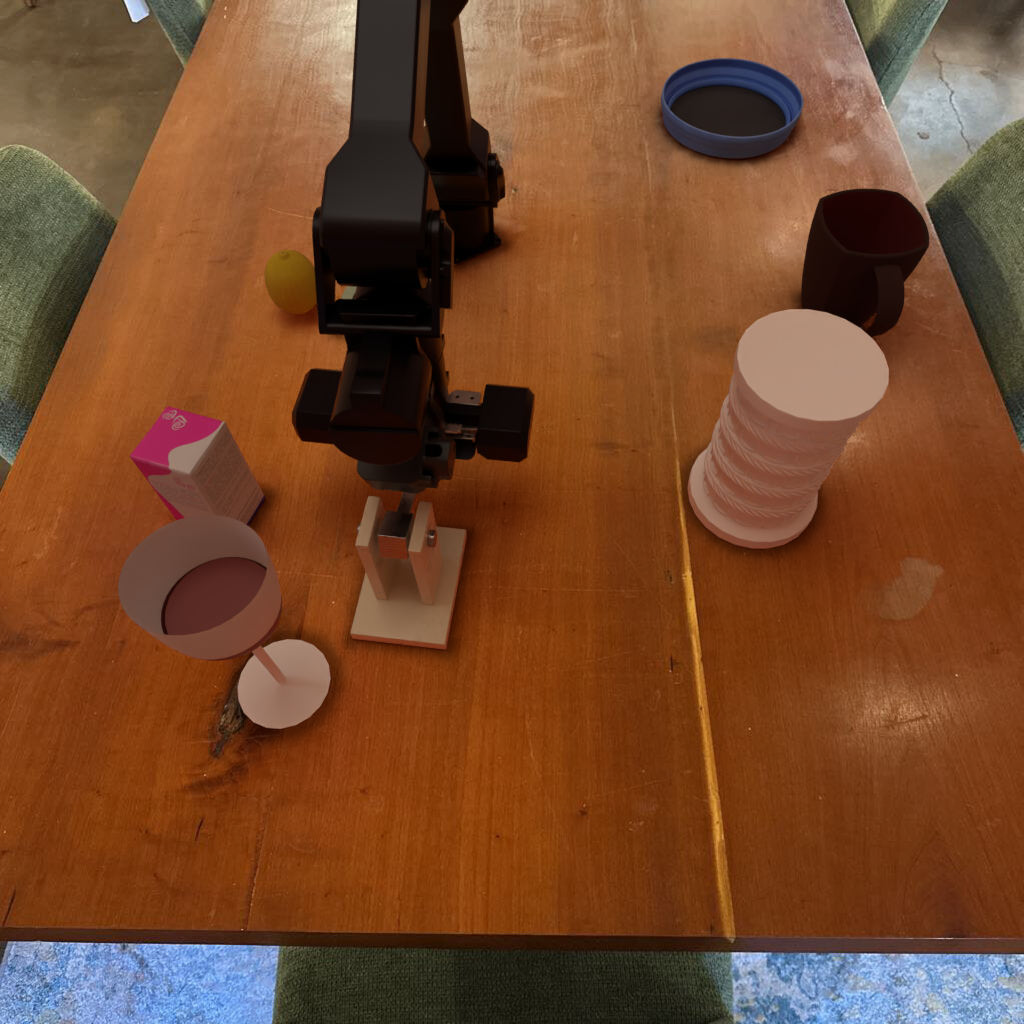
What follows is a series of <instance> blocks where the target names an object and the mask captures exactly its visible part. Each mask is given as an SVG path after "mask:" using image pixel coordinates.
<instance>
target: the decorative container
mask: <svg viewBox="0 0 1024 1024" xmlns="http://www.w3.org/2000/svg"><path fill="white" fill-rule="evenodd" d="M732 370H733V374H732V376H731V379H730V382H729V385H728V386H729V387H728V393H727V395H726V396H725V398H724V400H723V401H722V405H721V408H720V413H719V418H718V419H717V422H716V423H715V425H714V427H713V431H712V435H711V440H710V442H709V444H708V445H707V447H706V448H705V449H704V450H703V451H702V452H701V453H699V455H698V456H697V458H696V459H695V461H694V463H693V465H692V467H691V469H690V473H689V475H688V476H689V477H688V482H687V488H686V489H687V495H688V501H689V504H690V506H691V509H692V510H693V512H694V515H695V516H696V518H697V519H698V520H699V521H700V523H701V524H702V525H703V526H704V528H706V529H707V530H709V532H711V533H712V534H713V535H715V536H716V537H718V538H719V539H721V540H723V541H726V542H728V543H730V544H732V545H734V546H739V547H744V548H748V549H772V548H775V547H780V546H784V545H786V544H788V543H790V542H792V541H793V540H795V539H796V538H798V537H799V536H800V535H801V534H802V533H803V532H804V531H805V530H806V528H807V527H808V526H809V525H810V523H811V521H812V520H813V517H814V515H815V513H816V510H817V508H818V499H819V490H820V489H821V485H823V483H824V481H826V480H827V479H828V476H830V474H831V470H832V469H833V467H834V463H836V462H837V460H838V459H839V458H841V455H842V453H844V451H845V447H846V446H847V445H848V440H849V439H850V438H851V437H852V436H853V434H855V433H856V431H857V428H859V427H860V423H862V422H863V421H865V420H866V419H867V418H868V417H869V416H870V415H871V414H872V413H873V412H874V411H875V410H876V409H877V407H878V406H879V404H880V403H881V401H882V399H883V398H884V396H885V394H886V391H887V389H888V387H889V383H890V379H889V378H890V368H889V366H888V361H887V359H886V356H885V353H884V352H883V351H882V349H881V348H880V346H879V345H878V343H877V342H876V341H875V340H874V339H873V337H870V336H869V335H868V334H867V333H865V332H864V331H863V330H862V329H861V328H859V327H858V326H856V325H854V324H852V323H851V322H849V321H847V320H845V319H843V318H840V317H838V316H835V315H832V314H829V313H827V312H821V311H815V310H809V309H802V308H791V309H789V308H788V309H784V310H780V311H779V310H778V311H775V312H771V313H769V314H767V315H764V316H762V317H760V318H758V319H756V320H755V321H754V322H753V323H752V324H750V325H749V326H748V327H747V328H746V329H745V331H744V332H743V334H742V336H741V338H740V339H739V341H738V344H737V346H736V350H735V353H734V357H733V363H732Z"/></svg>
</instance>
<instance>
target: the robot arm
mask: <svg viewBox="0 0 1024 1024" xmlns="http://www.w3.org/2000/svg"><path fill="white" fill-rule="evenodd" d="M469 1H470V0H356V11H355V12H356V13H355V31H354V48H353V49H354V50H353V63H352V64H353V65H352V67H353V68H352V83H351V97H350V98H351V100H350V113H349V114H350V115H349V117H350V118H349V127H348V135H347V136H348V137H347V139H346V141H344V143H343V144H342V145H341V147H340V148H339V149H338V150H337V152H336V153H335V154H334V156H333V157H332V159H331V160H329V162H328V163H327V165H326V167H325V170H324V175H323V185H322V193H321V202H320V206H317V207H315V210H314V212H313V216H312V222H311V223H312V226H311V237H312V238H311V239H312V254H313V266H314V269H315V284H316V299H317V304H316V311H317V323H318V324H317V325H318V327H317V328H318V333H319V335H331V336H332V335H333V336H343V337H344V340H345V344H346V351H345V352H346V353H345V357H344V361H343V366H342V369H334V368H333V369H332V368H321V367H313V368H310V369H309V370H308V371H307V372H306V374H304V377H303V380H302V383H301V385H300V389H299V391H298V394H297V397H296V400H295V403H294V405H293V408H292V411H291V424H292V426H293V429H294V431H295V434H296V436H297V437H298V439H299V440H300V441H301V442H303V443H305V442H306V443H314V444H326V445H333V446H335V448H336V449H338V450H339V452H341V453H342V454H344V455H346V456H347V457H349V458H351V459H353V460H356V461H357V462H356V471H357V474H358V476H359V477H360V478H361V479H362V480H363V481H364V482H365V483H366V484H368V486H369V487H370V488H372V489H373V490H377V491H390V492H391V491H392V492H400V493H403V492H407V493H414V494H418V493H420V494H422V493H423V492H425V491H426V490H428V489H431V490H432V489H433V490H438V488H439V486H440V485H439V484H440V482H441V481H451V480H452V479H453V477H454V469H455V463H456V460H459V461H461V460H462V461H469V460H472V459H473V458H474V457H475V455H476V454H477V455H480V456H481V457H483V458H484V459H486V460H487V461H488V460H489V461H497V462H510V463H521V462H523V461H524V460H526V459H527V458H528V457H529V448H530V442H531V436H532V435H531V434H532V428H533V421H534V414H535V405H536V404H535V403H536V401H535V400H536V399H535V398H536V394H535V393H534V392H533V391H532V389H531V388H530V387H529V386H522V385H508V384H497V383H486V384H485V386H484V391H483V397H482V393H481V392H480V391H473V390H463V389H462V390H461V389H456V390H453V391H451V392H450V391H449V386H450V385H449V384H450V380H451V378H450V371H449V370H446V369H447V368H446V361H445V354H444V351H445V346H446V339H445V333H443V328H444V322H445V321H444V320H445V310H453V309H454V271H455V269H454V268H455V267H454V266H455V265H460V264H462V263H465V262H467V261H469V260H471V259H473V258H476V257H478V256H480V255H483V254H485V253H487V252H490V251H491V250H495V249H496V248H499V247H501V246H502V245H503V240H502V239H501V237H500V236H499V235H498V234H497V233H496V232H495V215H494V213H495V211H494V209H498V208H499V203H500V201H501V200H503V199H505V198H506V177H505V176H506V175H505V171H504V167H503V166H502V165H501V162H500V158H499V155H498V153H497V152H492V143H491V138H490V137H491V136H490V132H489V130H488V129H486V128H485V126H483V125H482V124H481V123H479V122H478V121H477V120H475V118H473V116H472V112H471V111H472V110H471V103H470V94H469V87H468V85H469V84H468V78H467V70H466V69H467V67H466V61H465V54H464V45H463V37H462V27H461V20H460V15H461V14H462V12H463V11H464V9H465V8H466V6H468V5H467V4H469ZM430 279H431V281H430ZM336 283H337V284H338V285H339V286H340V287H346V286H350V287H357V288H356V292H355V294H354V295H353V298H352V299H341V298H337V299H336V285H337V284H336Z"/></svg>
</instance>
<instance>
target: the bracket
mask: <svg viewBox="0 0 1024 1024" xmlns="http://www.w3.org/2000/svg"><path fill="white" fill-rule="evenodd" d="M385 513H386V511H385V508H384V504H383V501H382V498H381V496H375V495H373V496H372V495H368V496H367V499H366V502H365V506H364V510H363V513H362V516H361V517H362V518H361V520H360V521H359V522H358V524H357V529H356V539H355V543H354V546H355V548H356V551H357V554H358V556H359V559H360V561H361V563H362V566H363V569H364V571H365V573H364V577H363V581H362V585H361V589H360V592H359V597H358V601H357V605H356V609H355V613H354V617H353V620H352V623H351V624H352V625H351V628H350V631H349V632H350V636H351V638H352V639H353V640H359V641H369V642H377V643H378V642H379V643H386V644H394V645H395V644H396V645H402V646H403V645H404V646H411V647H420V648H427V649H428V648H429V649H437V650H447V647H448V641H449V637H450V632H451V631H450V630H451V625H452V621H453V614H454V608H455V603H456V598H457V592H458V586H459V581H460V576H461V569H462V565H463V559H464V553H465V547H466V543H467V537H468V535H467V534H468V533H467V529H465V528H464V529H463V528H454V527H447V526H437V524H436V518H435V514H434V508H433V503H432V501H431V502H430V501H421V500H419V501H418V504H417V508H416V512H415V516H414V519H415V522H414V526H413V530H412V535H411V539H410V544H409V548H408V552H409V559H408V560H406V559H396V558H387V557H381V556H380V549H379V542H378V532H379V530H380V527H381V524H382V521H383V519H384V516H385Z"/></svg>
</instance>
